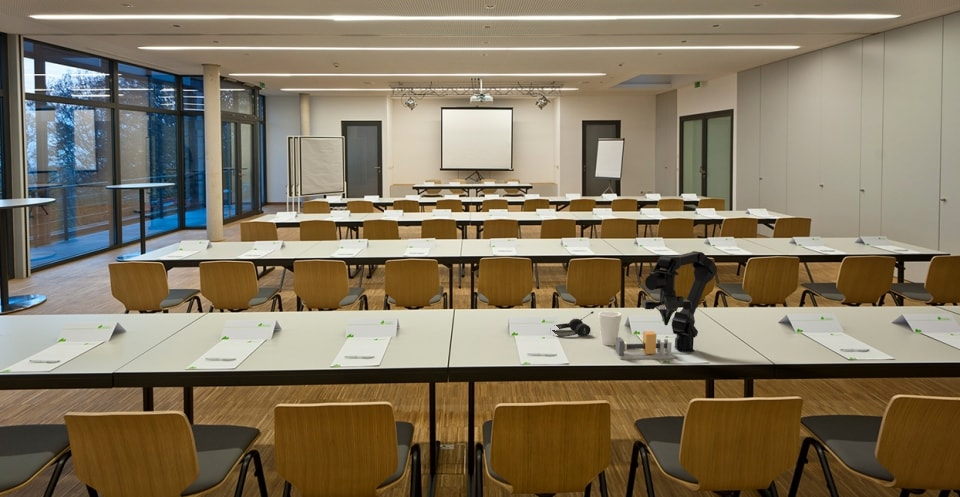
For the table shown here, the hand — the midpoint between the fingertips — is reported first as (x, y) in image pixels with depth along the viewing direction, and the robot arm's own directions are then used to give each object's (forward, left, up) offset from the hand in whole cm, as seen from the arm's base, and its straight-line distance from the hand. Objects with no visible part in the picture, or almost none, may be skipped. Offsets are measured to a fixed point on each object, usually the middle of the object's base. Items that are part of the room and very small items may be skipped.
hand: (665, 325), depth 290 cm
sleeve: (+7, 0, -11) cm, 13 cm away
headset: (+31, -36, -13) cm, 49 cm away
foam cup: (+19, -18, -12) cm, 29 cm away
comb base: (+9, 0, -12) cm, 15 cm away
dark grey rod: (+9, 0, -10) cm, 13 cm away
